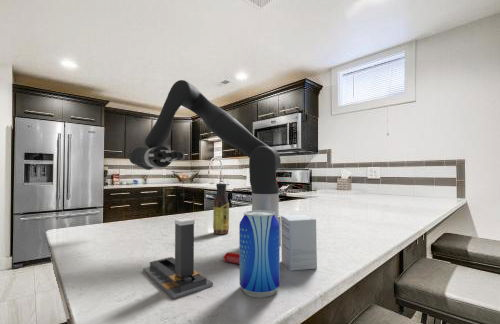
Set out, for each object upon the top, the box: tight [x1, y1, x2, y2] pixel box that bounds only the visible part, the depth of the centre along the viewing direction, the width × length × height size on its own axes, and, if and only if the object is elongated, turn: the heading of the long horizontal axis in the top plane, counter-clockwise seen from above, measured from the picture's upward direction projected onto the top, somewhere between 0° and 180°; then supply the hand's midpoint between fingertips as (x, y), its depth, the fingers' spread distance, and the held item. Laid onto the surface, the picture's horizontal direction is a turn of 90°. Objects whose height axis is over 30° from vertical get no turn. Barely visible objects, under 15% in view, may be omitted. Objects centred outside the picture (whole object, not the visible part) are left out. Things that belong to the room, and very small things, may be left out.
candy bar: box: [222, 251, 240, 265], centre depth 68 cm, size 16×4×3 cm, turn 66°
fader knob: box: [174, 217, 196, 282], centre depth 57 cm, size 4×3×13 cm
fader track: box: [142, 256, 214, 300], centre depth 60 cm, size 18×9×2 cm, turn 40°
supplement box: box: [280, 214, 318, 272], centre depth 68 cm, size 7×7×13 cm
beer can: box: [238, 210, 281, 298], centre depth 54 cm, size 8×8×16 cm
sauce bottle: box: [212, 183, 230, 235], centre depth 104 cm, size 7×6×20 cm
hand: (178, 154), depth 80 cm, fingers closed
